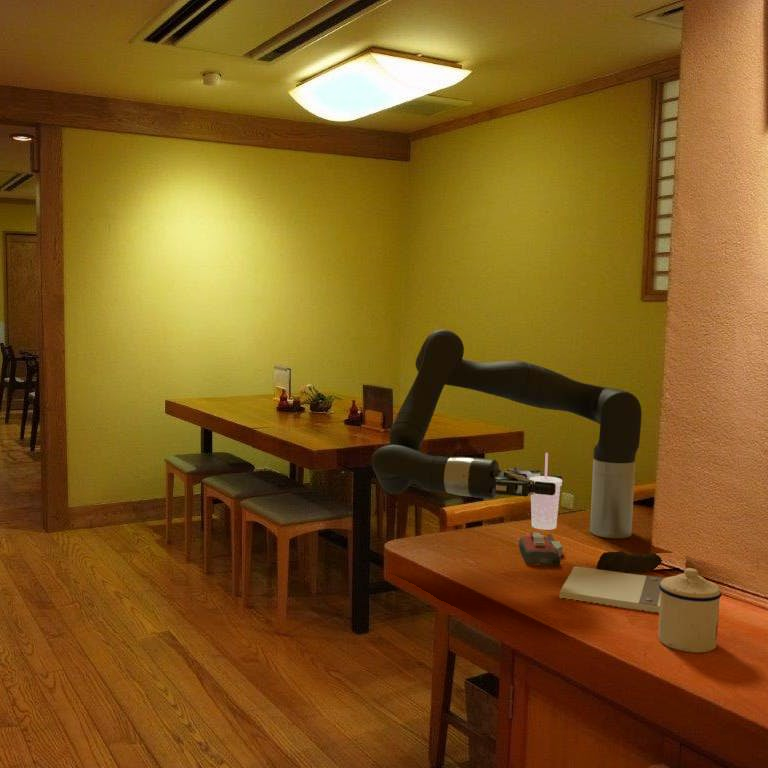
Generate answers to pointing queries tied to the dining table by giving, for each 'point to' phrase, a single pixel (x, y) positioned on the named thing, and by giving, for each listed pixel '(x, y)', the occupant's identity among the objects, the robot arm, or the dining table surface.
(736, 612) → the dining table surface
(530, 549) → the walkie-talkie
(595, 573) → the floor panel
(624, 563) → the hand tool
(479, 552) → the dining table surface
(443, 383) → the robot arm
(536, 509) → the beverage cup
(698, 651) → the teacup with lid
